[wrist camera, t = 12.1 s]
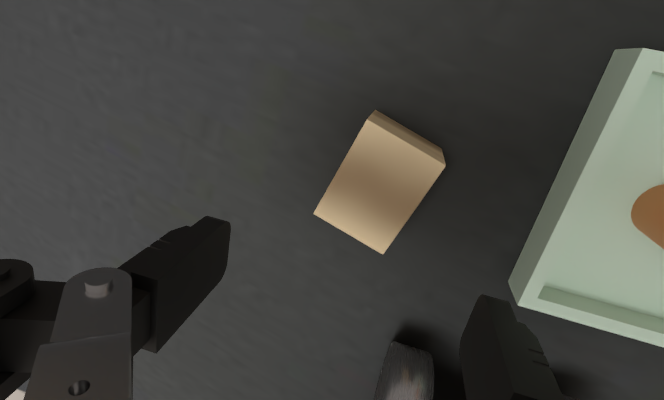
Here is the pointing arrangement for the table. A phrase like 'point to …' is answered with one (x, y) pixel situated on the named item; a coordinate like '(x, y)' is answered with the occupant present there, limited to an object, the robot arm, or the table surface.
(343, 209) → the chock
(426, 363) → the trolley
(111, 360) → the robot arm
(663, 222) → the pin
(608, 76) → the tray
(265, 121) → the table surface
